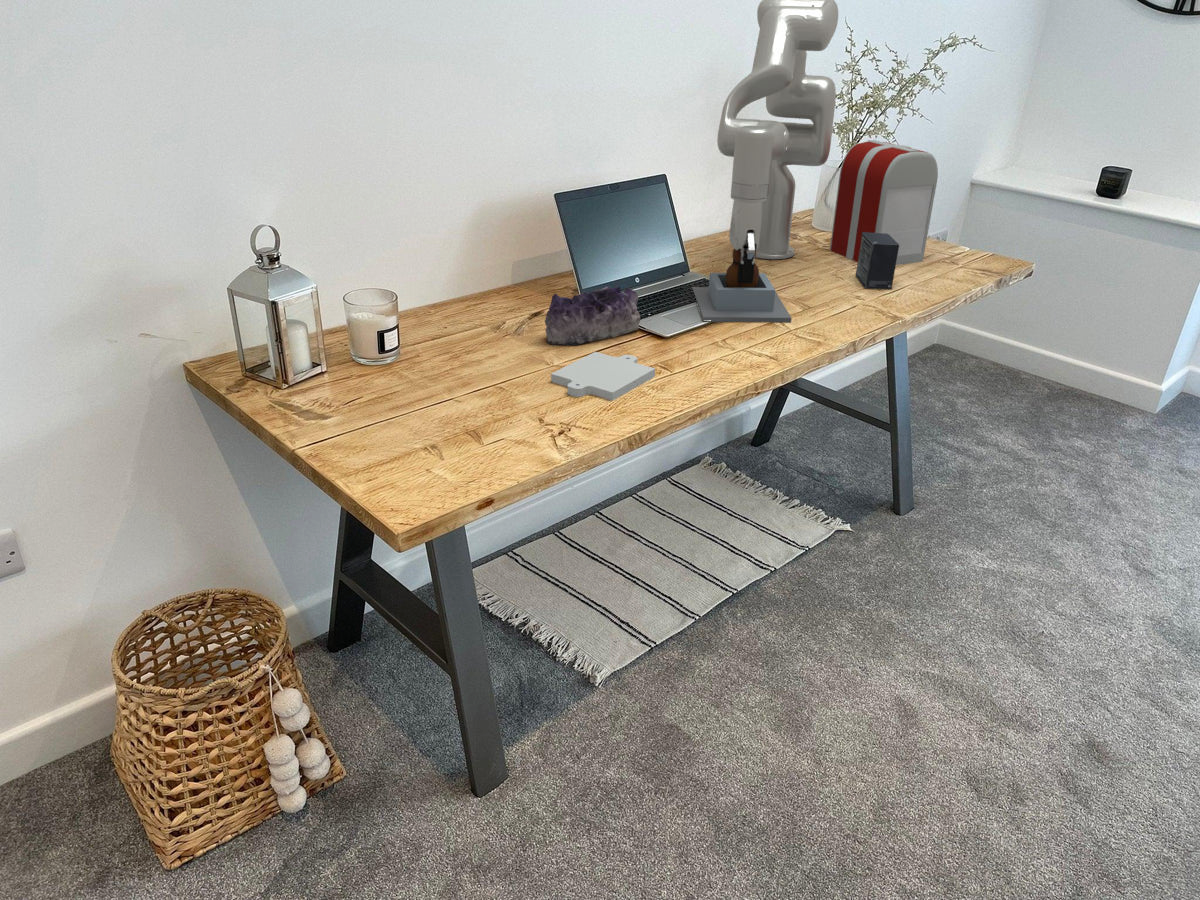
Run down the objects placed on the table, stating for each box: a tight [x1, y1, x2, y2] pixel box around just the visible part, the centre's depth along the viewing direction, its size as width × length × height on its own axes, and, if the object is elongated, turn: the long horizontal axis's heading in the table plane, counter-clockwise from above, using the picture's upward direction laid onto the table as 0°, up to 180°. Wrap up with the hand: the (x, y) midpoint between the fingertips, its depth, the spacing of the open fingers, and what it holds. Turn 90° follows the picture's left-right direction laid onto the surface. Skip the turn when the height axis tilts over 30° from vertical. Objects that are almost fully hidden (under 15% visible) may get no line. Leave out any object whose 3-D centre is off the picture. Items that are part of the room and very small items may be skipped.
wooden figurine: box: [725, 246, 760, 288], centre depth 193 cm, size 7×6×15 cm
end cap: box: [692, 272, 792, 323], centre depth 196 cm, size 20×18×6 cm
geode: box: [544, 286, 641, 347], centre depth 179 cm, size 20×12×10 cm, turn 129°
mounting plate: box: [550, 351, 656, 401], centre depth 161 cm, size 18×13×2 cm
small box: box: [855, 232, 899, 290], centre depth 212 cm, size 11×6×10 cm, turn 179°
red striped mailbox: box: [829, 139, 939, 266], centre depth 229 cm, size 16×18×27 cm
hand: (742, 276), depth 195 cm, fingers closed on wooden figurine, 6 cm apart
